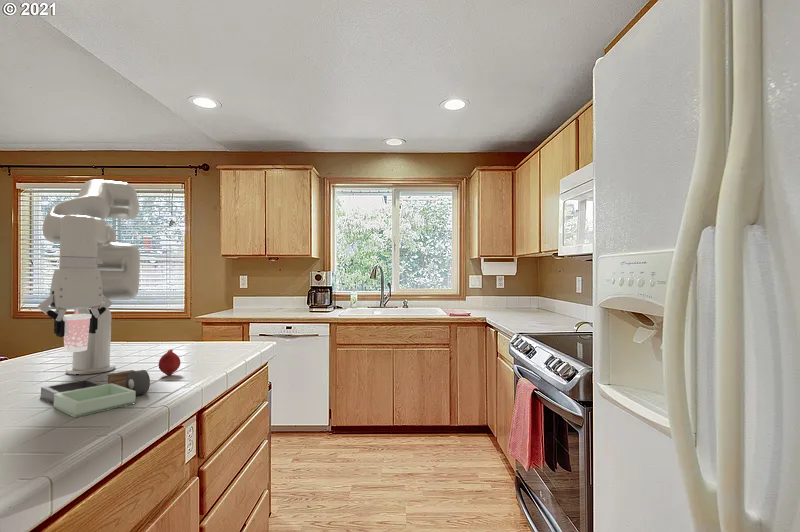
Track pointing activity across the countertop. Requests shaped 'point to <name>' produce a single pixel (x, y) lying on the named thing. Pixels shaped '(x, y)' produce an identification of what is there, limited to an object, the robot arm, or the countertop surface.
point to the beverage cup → (76, 332)
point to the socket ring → (66, 388)
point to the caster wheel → (138, 381)
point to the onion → (169, 363)
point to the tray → (93, 399)
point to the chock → (118, 378)
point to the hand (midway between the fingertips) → (76, 333)
